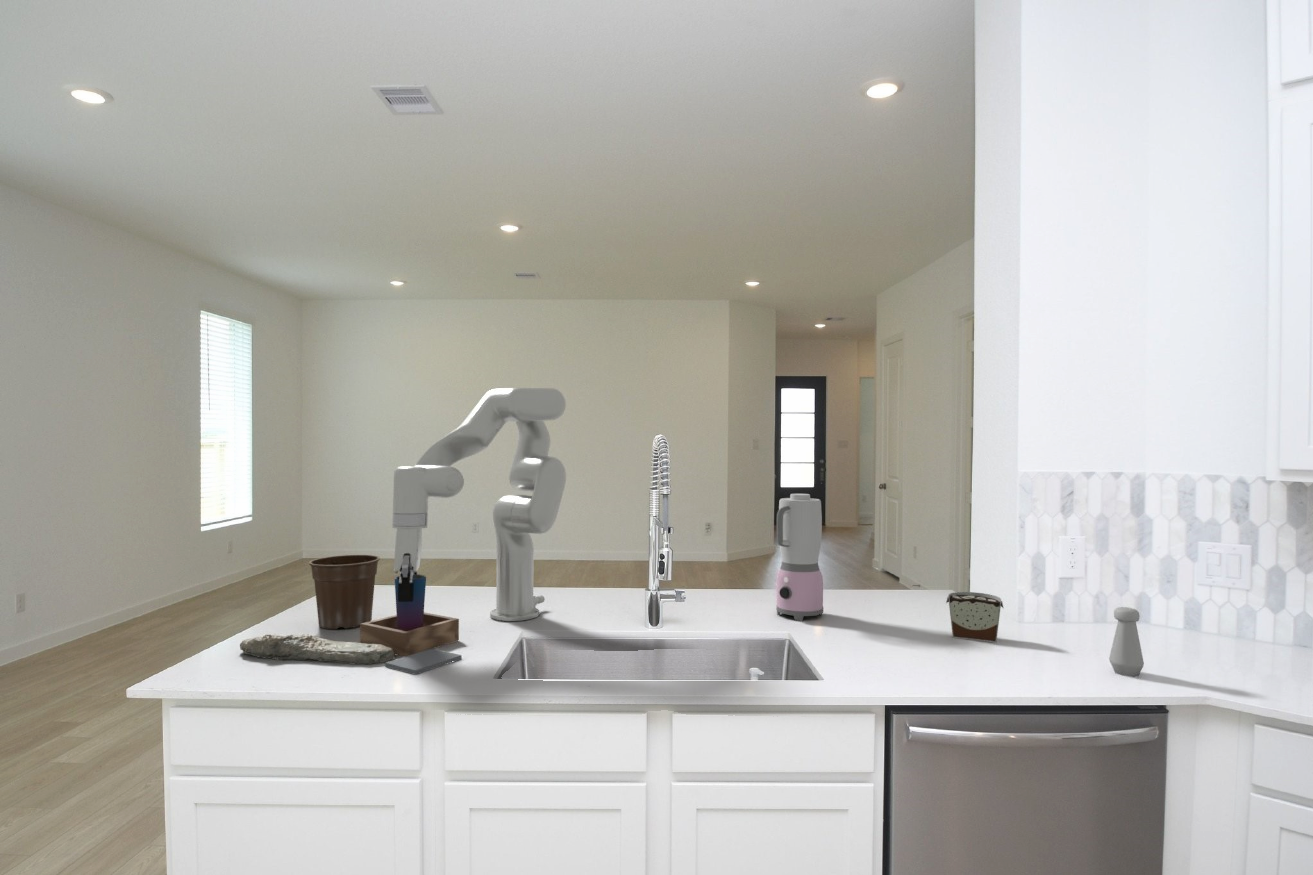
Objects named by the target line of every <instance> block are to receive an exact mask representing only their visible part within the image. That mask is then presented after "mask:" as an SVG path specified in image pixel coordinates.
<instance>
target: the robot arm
mask: <svg viewBox="0 0 1313 875" xmlns="http://www.w3.org/2000/svg"><path fill="white" fill-rule="evenodd" d="M566 403H567V402H566V399H565V396H564V394H563V393H562V391H560V390H559V389H556V388H555V387H502V388H501V387H500V388H499V387H497V388H492V389H491V390H488V391H487V392H485V394H484V395H483V396H482V397H481V398H480V399H479V401H477V404H475V406H474V407H473V409H472V410H470V411H469V413H468V414H467V416H466V417H465V418H464V420H463V421H462V422H461V423H460V425H458V427H456V428H455V429H453V430H452V431H450V432H448V433H447V434H446V435H445V436H443V437H442V438H440V439H439V440H437V441H436V442H435V443H433V444H431V445H430V446H429V447H428V448H427V449H426V450H425V451H424V452H423V454H422V455H421V456H420V457H419V458H418V460H416V462H415V463H414V464H413V465H412V466H411V465H404V466H398V467H396V468H395V470H394V473H393V489H392V490H393V492H392V494H393V498H392V499H393V500H392V522H391V523H392V525H391V526H392V529H396V532H395V541H394V542H395V544H394V545H395V547H394V558H393V559H394V560H393V561H394V563H393V573H395V574H398V572H399V576H400V577H399V583H398V602H412V601H413V598H414V583H413V574H418V570H419V569H420V565H421V559H422V558H421V556H422V541H423V540H422V538H423V537H422V535H423V533H422V532H423V529H426V528H428V522H429V521H428V518H429V515H428V514H429V512H428V511H429V498H430V497H432V498H439V499H440V498H441V499H449V498H453V497H455V496H456V495H458V494H459V493H461V491H462V490H463V487H464V484H465V478H464V475H463V473H462V472H461V471H460V470H459V469H457V468H456V467H454V466H452V465H454V464H456V463H458V462H459V461H461V460H463V459H465V458H469V457H472V456H474V455H477V454H479V453H481V452H484V451H485V450H486V449H487V448H488V447H489V446H490V444H491V443H492V441H493V440H494V439H495V437H496V436H497V435H498V434H499V432H500V431H501V430H502V428H503V427H504V425H505V424H506V423H509V422H515V423H516V426H517V429H518V440H517V445H516V449H515V453H514V456H513V460H512V463H511V466H510V470H509V476H508V480H509V483H510V486H512V488H514V489H515V490H518V491H520V492H529V493H532V495H526V494H506V495H504V496H502V497H500V498H498V500H497V501H496V502H495V504H494V505H493V506H494V507H493V511H492V520H493V524H494V529H495V540H496V596H495V598H496V600H495V601H496V604H495V607H496V608H495V609H493V610H492V609H491V611H490V613H489V616H490V618H491V619H493V620H496V621H501V620H502V622H503V621H505V622H518V621H520V622H521V621H526V620H532V619H535V618H537V617H539V615H540V610H539V608H537V607H536V606H537V605H538V604H542V603H544V602H545V600H546V599H545V597H544V595H542V594H541V595H538V596H536V595H534V572H535V571H534V562H535V561H534V560H535V559H534V558H535V556H534V549H535V548H534V542H533V539H532V536H531V534H538V535H540V534H541V535H542V534H545V533H547V532H549V531H550V530H551V529H552V528H553V527H554V525H555V522H556V520H557V516H558V514H559V510H560V506H561V502H562V498H563V495H564V490H565V486H566V481H567V473H566V468H565V465H564V463H563V462H562V461H561V460H560V459H559V458H558V457H555V456H550V455H549V452H550V447H551V435H550V432H549V429H548V427H547V425H546V423H545V421H546V422H547V421H556V420H557V419H559V418H561V416H562V415H563V414H564V413H565V410H566V408H567V407H566Z"/></svg>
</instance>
